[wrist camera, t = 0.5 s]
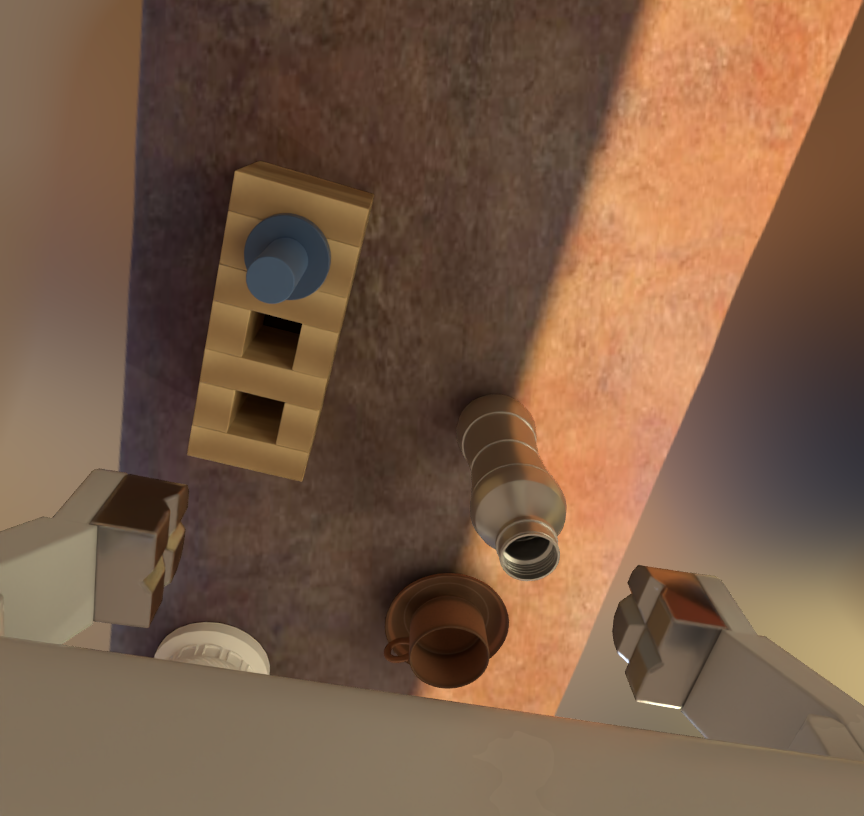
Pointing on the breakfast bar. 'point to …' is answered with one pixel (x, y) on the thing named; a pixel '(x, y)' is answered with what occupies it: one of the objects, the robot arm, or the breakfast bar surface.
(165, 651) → the decorative container
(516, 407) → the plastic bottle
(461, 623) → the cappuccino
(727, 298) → the breakfast bar surface
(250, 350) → the rack
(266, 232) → the peg
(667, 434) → the breakfast bar surface
